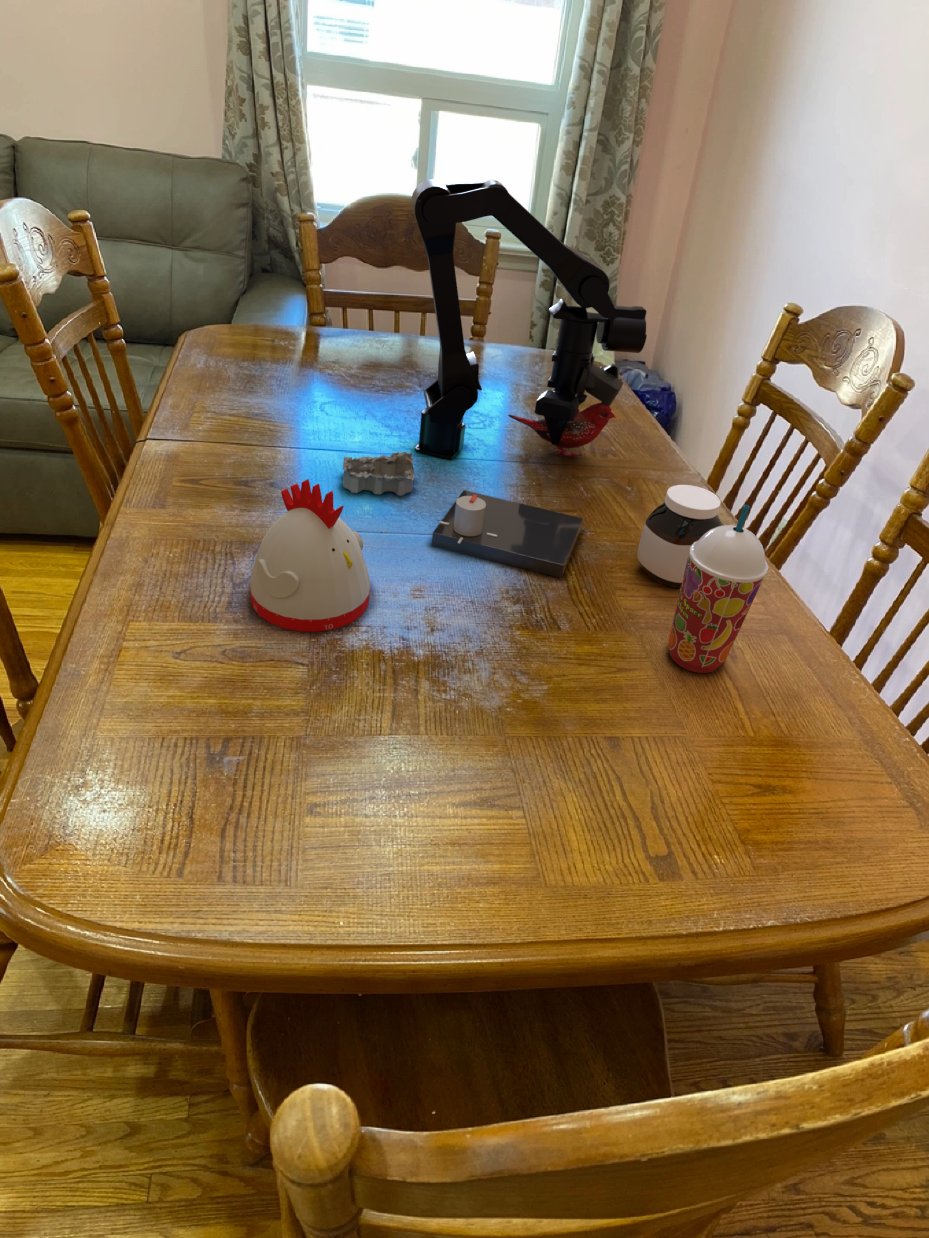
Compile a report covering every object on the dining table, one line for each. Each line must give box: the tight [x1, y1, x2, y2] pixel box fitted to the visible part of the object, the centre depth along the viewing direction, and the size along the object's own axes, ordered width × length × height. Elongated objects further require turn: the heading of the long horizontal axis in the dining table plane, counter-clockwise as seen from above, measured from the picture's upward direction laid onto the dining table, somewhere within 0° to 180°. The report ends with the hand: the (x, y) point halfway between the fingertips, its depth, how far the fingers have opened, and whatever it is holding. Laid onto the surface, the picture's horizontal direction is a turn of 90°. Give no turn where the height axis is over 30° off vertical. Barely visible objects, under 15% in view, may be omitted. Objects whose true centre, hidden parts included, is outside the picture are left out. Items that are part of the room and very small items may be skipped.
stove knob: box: [453, 495, 486, 536], centre depth 110 cm, size 4×4×4 cm
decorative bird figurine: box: [507, 402, 617, 458], centre depth 136 cm, size 3×18×10 cm, turn 89°
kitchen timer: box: [249, 478, 371, 633], centre depth 93 cm, size 14×14×15 cm
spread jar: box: [636, 484, 724, 589], centre depth 109 cm, size 12×11×12 cm
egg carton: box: [341, 451, 415, 497], centre depth 122 cm, size 11×8×4 cm
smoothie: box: [667, 504, 769, 674], centre depth 90 cm, size 8×8×20 cm
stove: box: [431, 489, 584, 579], centre depth 113 cm, size 18×15×2 cm
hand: (557, 441), depth 137 cm, fingers closed on decorative bird figurine, 3 cm apart
